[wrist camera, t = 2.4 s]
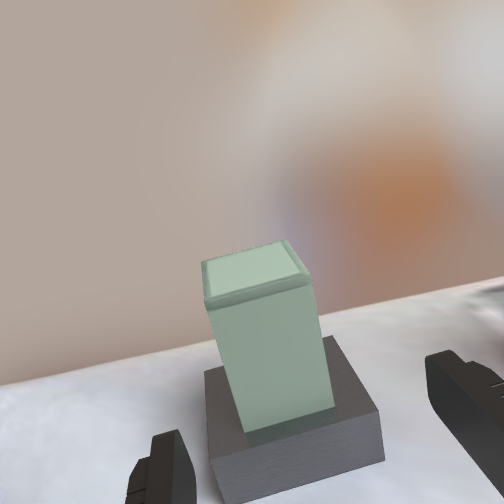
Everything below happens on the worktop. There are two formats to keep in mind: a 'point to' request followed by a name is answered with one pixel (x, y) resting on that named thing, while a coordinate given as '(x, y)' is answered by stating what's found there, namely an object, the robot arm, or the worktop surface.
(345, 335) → the worktop surface
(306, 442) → the grey step block
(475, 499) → the worktop surface
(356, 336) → the worktop surface
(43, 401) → the worktop surface
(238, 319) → the tall mint pillar
